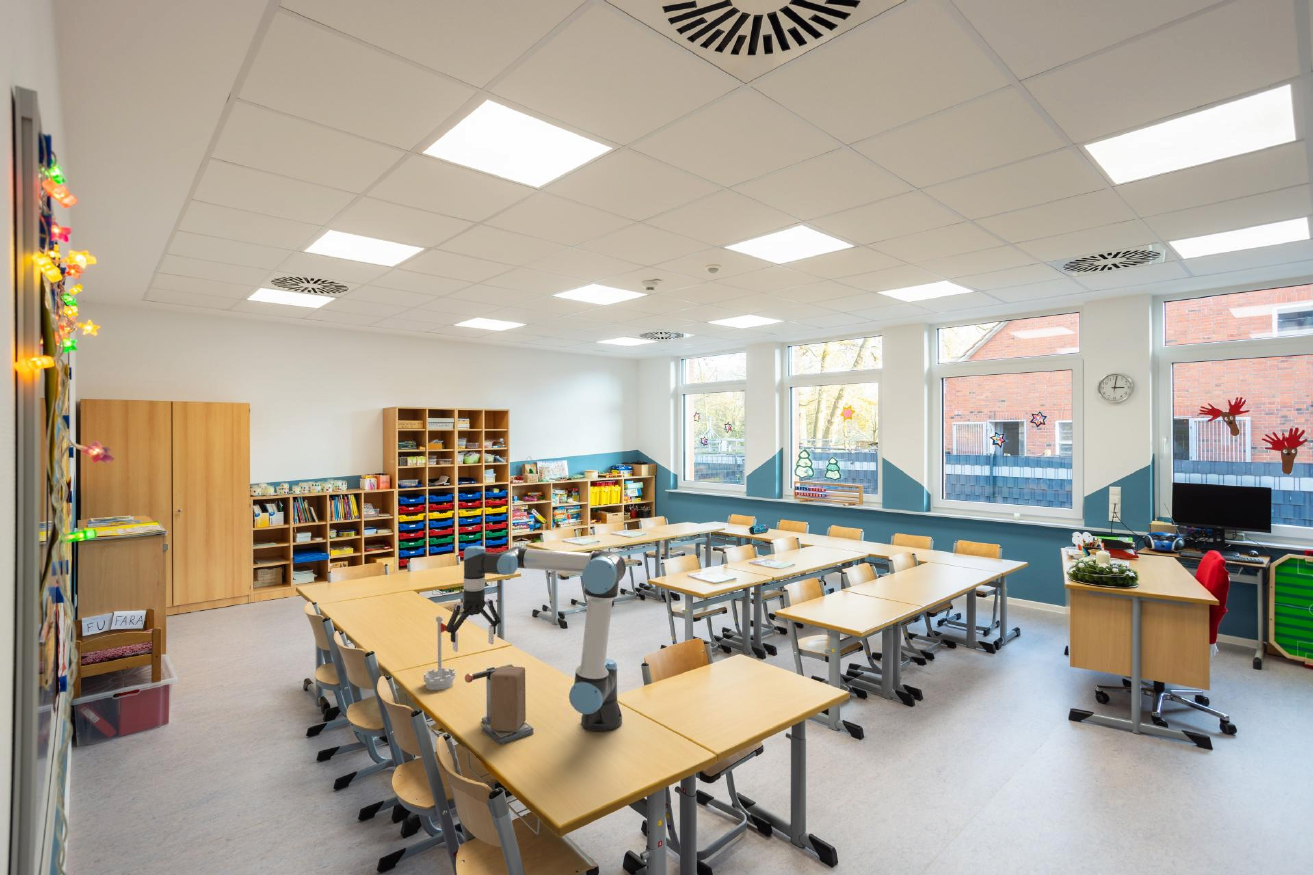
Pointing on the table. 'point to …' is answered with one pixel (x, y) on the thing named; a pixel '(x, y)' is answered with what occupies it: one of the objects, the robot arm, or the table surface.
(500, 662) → the table surface
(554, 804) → the table surface
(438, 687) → the flag stand
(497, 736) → the press
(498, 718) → the wooden block
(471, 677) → the lever
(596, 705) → the robot arm
